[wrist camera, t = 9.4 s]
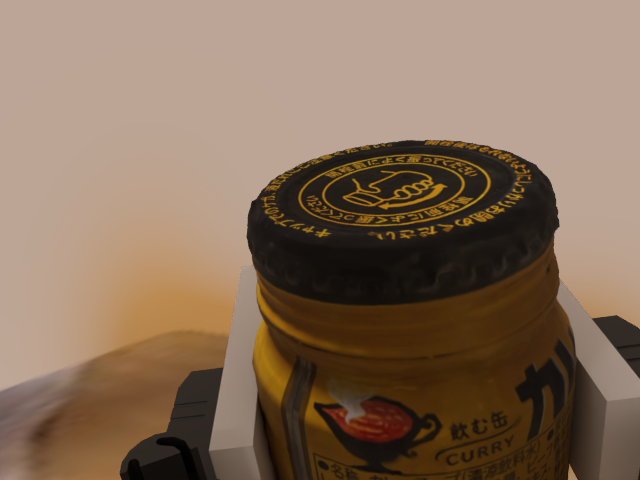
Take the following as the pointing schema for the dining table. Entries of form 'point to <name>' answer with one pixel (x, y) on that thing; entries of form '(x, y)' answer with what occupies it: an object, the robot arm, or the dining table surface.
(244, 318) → the robot arm
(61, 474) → the dining table surface
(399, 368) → the yellow cylindrical jar
